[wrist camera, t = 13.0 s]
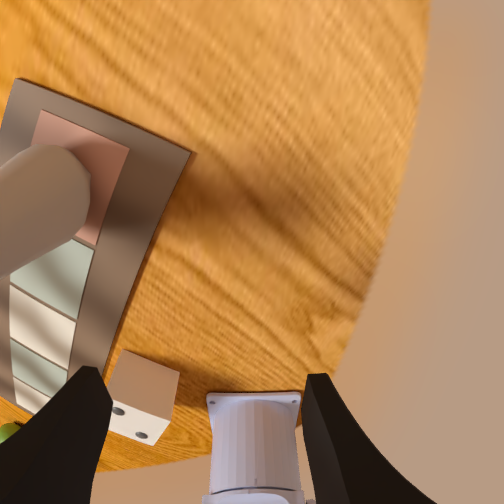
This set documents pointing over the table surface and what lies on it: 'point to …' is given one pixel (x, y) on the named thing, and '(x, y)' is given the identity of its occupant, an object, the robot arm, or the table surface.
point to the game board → (79, 242)
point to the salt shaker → (40, 203)
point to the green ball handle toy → (8, 431)
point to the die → (141, 397)
